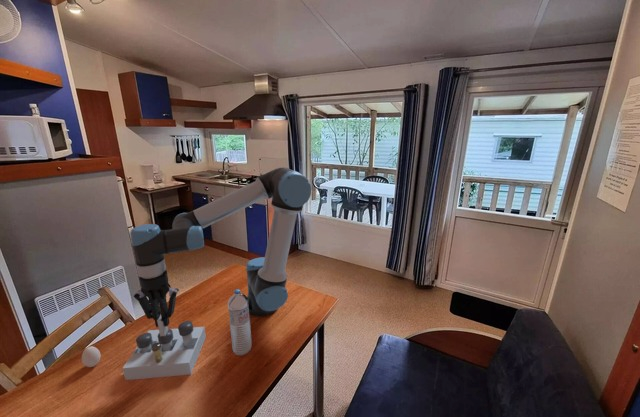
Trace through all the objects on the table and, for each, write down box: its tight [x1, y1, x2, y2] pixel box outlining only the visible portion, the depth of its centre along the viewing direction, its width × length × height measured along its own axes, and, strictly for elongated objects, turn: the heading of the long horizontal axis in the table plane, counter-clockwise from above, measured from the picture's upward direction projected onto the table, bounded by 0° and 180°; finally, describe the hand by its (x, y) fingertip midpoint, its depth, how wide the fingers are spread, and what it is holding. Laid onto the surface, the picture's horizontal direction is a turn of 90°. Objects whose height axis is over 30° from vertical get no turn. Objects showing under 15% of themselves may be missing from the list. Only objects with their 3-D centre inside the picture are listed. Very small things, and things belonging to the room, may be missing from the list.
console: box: [122, 326, 207, 381], centre depth 91 cm, size 20×16×5 cm
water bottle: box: [227, 288, 253, 356], centre depth 92 cm, size 7×7×25 cm
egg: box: [81, 345, 101, 368], centre depth 87 cm, size 5×5×7 cm
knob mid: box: [158, 328, 173, 351], centre depth 90 cm, size 4×4×7 cm
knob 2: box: [177, 320, 194, 346], centre depth 90 cm, size 4×4×7 cm
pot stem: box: [151, 342, 163, 363], centre depth 83 cm, size 3×3×6 cm
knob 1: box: [135, 332, 153, 353], centre depth 89 cm, size 4×4×7 cm
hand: (164, 333), depth 88 cm, fingers closed
